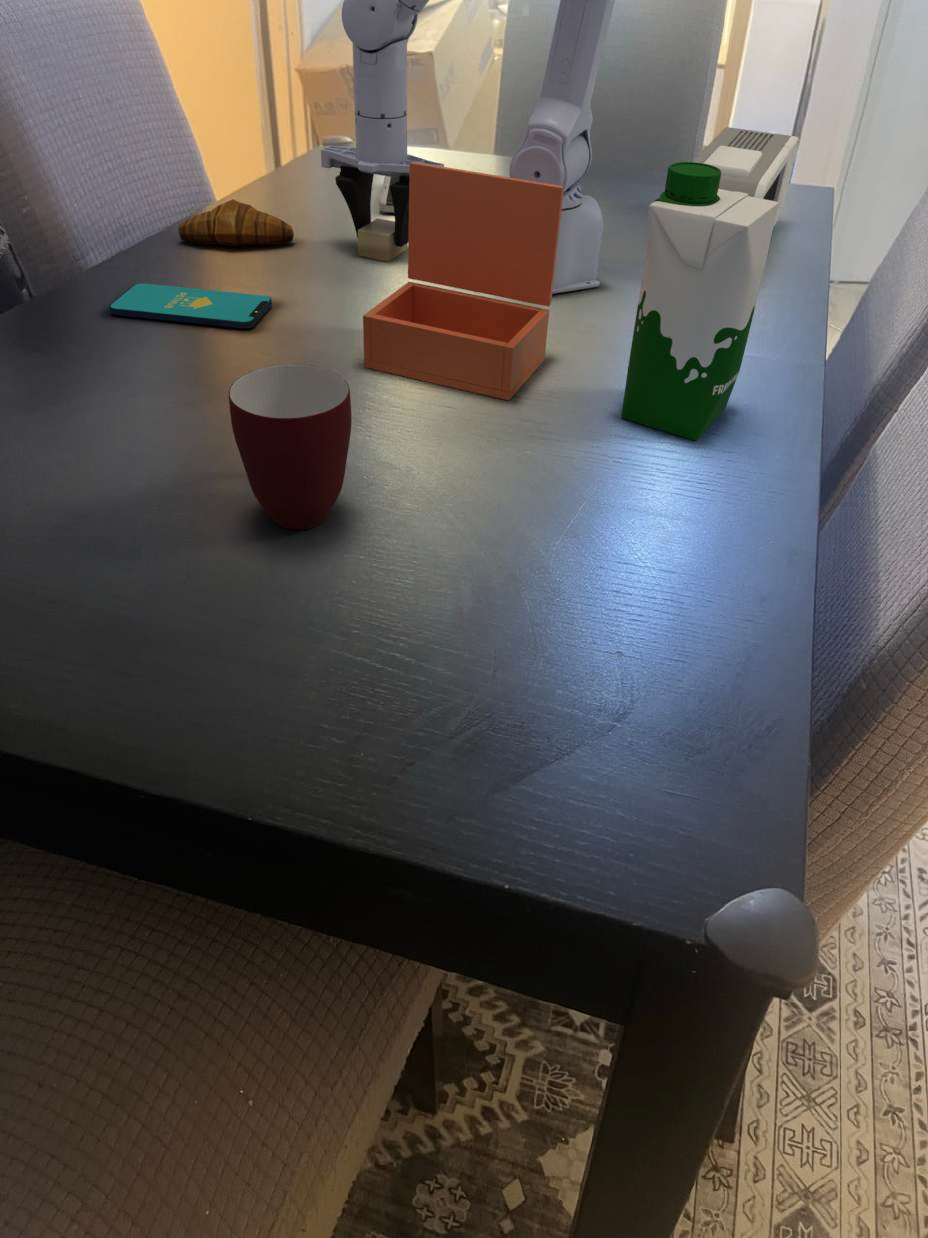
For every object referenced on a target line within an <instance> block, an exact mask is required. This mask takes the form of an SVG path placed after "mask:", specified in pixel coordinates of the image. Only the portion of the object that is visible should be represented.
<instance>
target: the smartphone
mask: <svg viewBox="0 0 928 1238" xmlns="http://www.w3.org/2000/svg"><path fill="white" fill-rule="evenodd" d="M272 306H273V300H272V297H271V296H269V295H261V294H254V293H253V294H251V293H242V292H231V291H222V290H213V289H203V288H192V287H182V286H174V285H173V286H172V285H163V284H155V283H154V284H152V283H145V282H144V283H142V282H141V283H137V284H134V285H133V286H132V287H131V288H129V289H128V290H127V291H126V292H125V293H123V294H122V295H121V296H120V297H119V298H117V299H116V300H115V301H114V302H112V303H111V304H110V305H109V310H110V314H111V315H115V316H123V317H132V318H133V317H134V318H142V319H151V320H161V321H169V322H180V323H188V324H189V323H190V324H199V325H208V326H217V327H228V328H237V329H251V328H253V327H255V325H256V324H257V323H258V322H259V320H260V319H262V317H263V316H264V315H265V314H266V312H268V310H269V309H270V308H271V307H272Z"/></svg>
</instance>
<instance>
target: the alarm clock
mask: <svg viewBox="0 0 928 1238" xmlns="http://www.w3.org/2000/svg"><path fill="white" fill-rule="evenodd" d="M799 141H800V139H799V136H794V135H789V134H788V135H787V134H781V133H775V132H766V131H759V130H751V129H744V128H739V127H738V128H736V127H731V126H730V127H729V126H726V127H724V128H723V130H721V132H720V133H718V135H717V136H715V137H714V138H713V140H712V141H711V142H710V143H709V144H708V145H707V146H706V147H705V148H704V149H703V150H702V151H701V152H700V153H699V154H698V155H697V156H696V157H695V158H694V159H693V160H692V162H696V163H703V164H708V165H712V166H714V167H717V168H719V169H720V170H721V178H720V183H719V189H722V190H727V191H732V192H734V191H737V192H742V193H747V194H748V195H749V196H750V197H755V198H760V199H765V200H770V201H775V202H779V205H778V209H777V213H776V218H775V222H774V226H775V225H776V224H777V222H778V220H779V219H780V216H781V215H782V211H783V207H784V205H785V200H786V196H787V192H788V189H789V186H790V185H789V184H790V180H791V177H792V172H793V169H794V165H795V161H796V160H795V159H796V156H797V152H798V148H799Z"/></svg>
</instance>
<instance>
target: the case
mask: <svg viewBox="0 0 928 1238" xmlns="http://www.w3.org/2000/svg"><path fill="white" fill-rule="evenodd" d="M549 318H550V309H547V308H542V307H539V306H532V305H528V304H523V303H518V302H513V301H508V300H507V301H506V300H502V299H497V298H493V297H487V296H483V295H478V294H474V293H473V294H472V293H468V292H463V291H458V290H454V289H448V288H443V287H438V286H433V285H430V284H429V285H428V284H424V283H418V282H413V281H407V282H406V283H405V284H403V285H402V286H401V287H399V288H398V289H397V290H396V291H394V292H393V293H391V294H390V295H389V296H387V297H386V298H385V299H383V300H382V301H381V302H379V303H378V304H376V305H375V306H374V307H373V308H371V309H370V310H368V311H367V312H366V313H364V314H363V315H362V333H363V335H362V337H363V366H364V368H366V369H370V370H374V371H375V370H376V371H380V372H384V373H389V374H393V375H397V376H402V377H405V378H410V379H414V380H418V381H423V382H427V383H432V384H434V385H435V384H436V385H440V386H445V387H449V388H453V389H457V390H460V391H461V390H462V391H465V392H470V393H474V394H478V395H483V396H487V397H492V398H496V399H499V400H504V401H510V400H511V399H512V398H513V397H514V395H516V394H517V392H518V391H519V390H520V388H521V387H523V385H524V384H525V383H526V382H527V380H529V378H531V376H532V375H533V374H534V373H535V371H536V370H537V369H538V368H539V367H540V366H541V365H542V363H543V362H544V361H545V359H546V350H547V339H548V328H549Z"/></svg>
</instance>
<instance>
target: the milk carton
mask: <svg viewBox="0 0 928 1238" xmlns="http://www.w3.org/2000/svg"><path fill="white" fill-rule="evenodd" d="M667 168H668V169H667V174H666V180H665V186H664V191H662V193H660V196H659V197H658V198H656V199H655V200H654V201H653V202H652V203H651V204H649V206H648V215H647V216H648V217H647V218H648V219H647V237H646V250H645V251H646V252H645V257H644V262H643V263H644V264H643V271H642V277H641V283H640V289H639V295H638V302H637V308H636V315H635V322H634V327H633V332H632V333H633V334H632V340H631V347H630V353H629V359H628V366H627V373H626V380H625V387H624V395H623V401H622V409H621V416H620V418H621V419H625V420H627V421H631V422H634V423H638V424H641V425H644V426H647V427H650V428H653V429H656V430H660V431H664V432H666V433H669V434H673V435H675V436H679V437H682V438H686V439H688V440H692V441H695V442H697V441H698V440H699V439H700V438H701V437H702V436H703V435H704V434H705V432H707V431H708V429H710V427H711V426H712V425H713V424H714V422H716V421H717V419H719V417H720V416H721V415H722V414H724V412H725V410H726V409H727V407H728V403H729V400H730V398H731V395H732V392H733V390H734V387H735V384H736V381H737V379H738V376H739V374H740V370H741V367H742V363H743V360H744V359H743V358H744V355H745V351H746V346H747V342H748V339H749V335H750V330H751V326H752V322H753V319H754V318H753V317H754V313H755V310H756V305H757V301H758V297H759V294H760V288H761V284H762V280H763V276H764V271H765V269H766V263H767V258H768V254H769V249H770V244H771V241H772V240H771V239H772V234H773V231H774V227H775V225H774V222H775V218H776V213H777V209H778V205H779V202H775V201H770V200H765V199H760V198H755V197H750V196H749V195H748V194H747V193H742V192H737V191H734V192H732V191H727V190H722V189H719V183H720V178H721V170H720V169H719V168H717V167H714V166H712V165H708V164H703V163H696V162H693V161H679V162H674V163H671V164H669V166H668V167H667Z"/></svg>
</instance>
